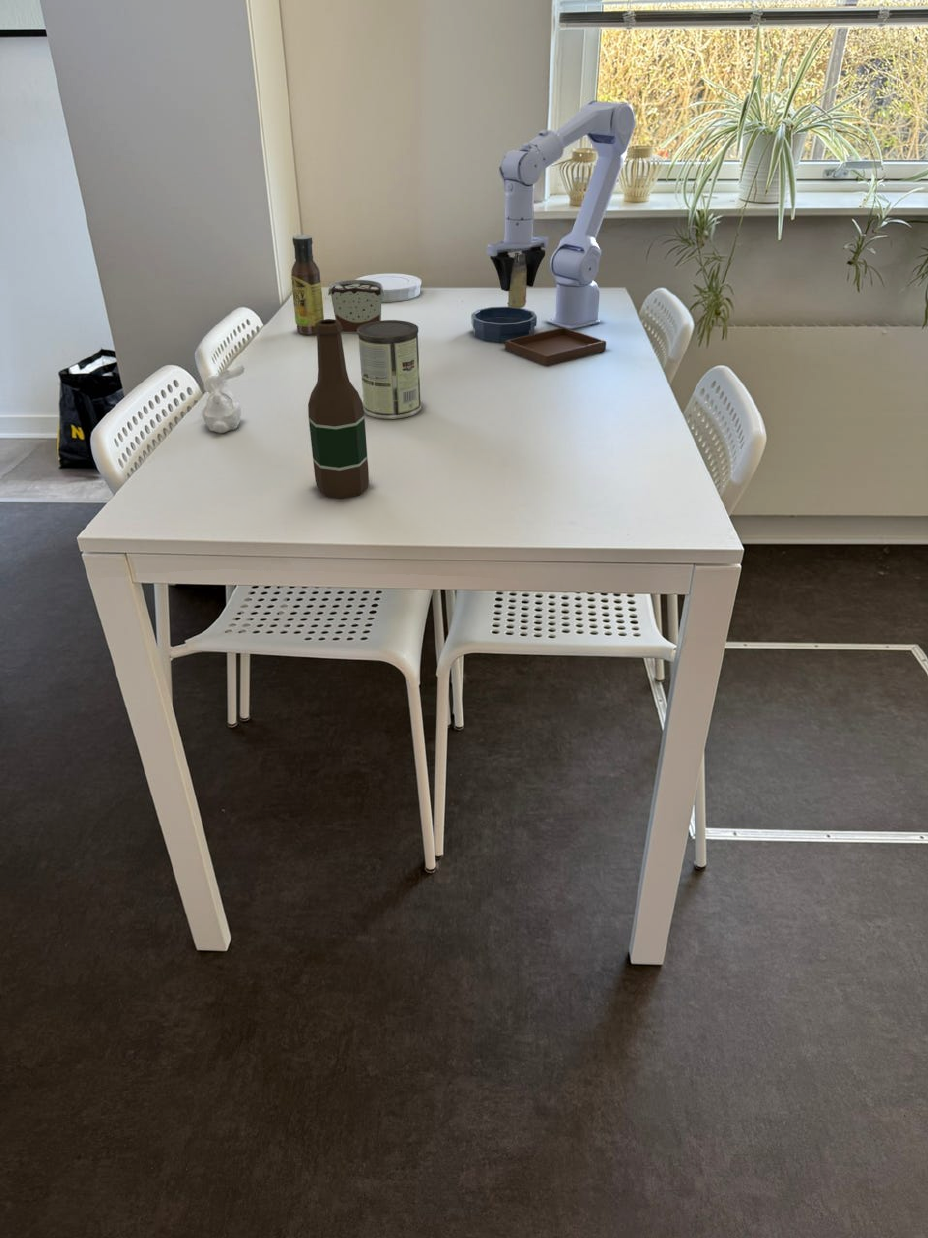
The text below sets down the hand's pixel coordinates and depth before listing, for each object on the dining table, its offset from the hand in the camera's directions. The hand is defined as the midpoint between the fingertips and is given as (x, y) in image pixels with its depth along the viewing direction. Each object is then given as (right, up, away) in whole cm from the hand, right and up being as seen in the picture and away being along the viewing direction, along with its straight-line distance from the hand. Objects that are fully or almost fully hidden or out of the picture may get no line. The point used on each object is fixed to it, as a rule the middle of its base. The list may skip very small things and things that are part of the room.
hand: (517, 287), depth 186 cm
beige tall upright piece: (0, -3, +2) cm, 4 cm away
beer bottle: (-29, -50, -56) cm, 80 cm away
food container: (-34, -5, +12) cm, 36 cm away
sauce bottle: (-45, -6, +11) cm, 47 cm away
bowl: (-3, -7, +8) cm, 11 cm away
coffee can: (-24, -32, -29) cm, 50 cm away
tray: (+8, -14, -2) cm, 16 cm away
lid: (-31, +12, +37) cm, 50 cm away
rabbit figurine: (-51, -36, -34) cm, 72 cm away
